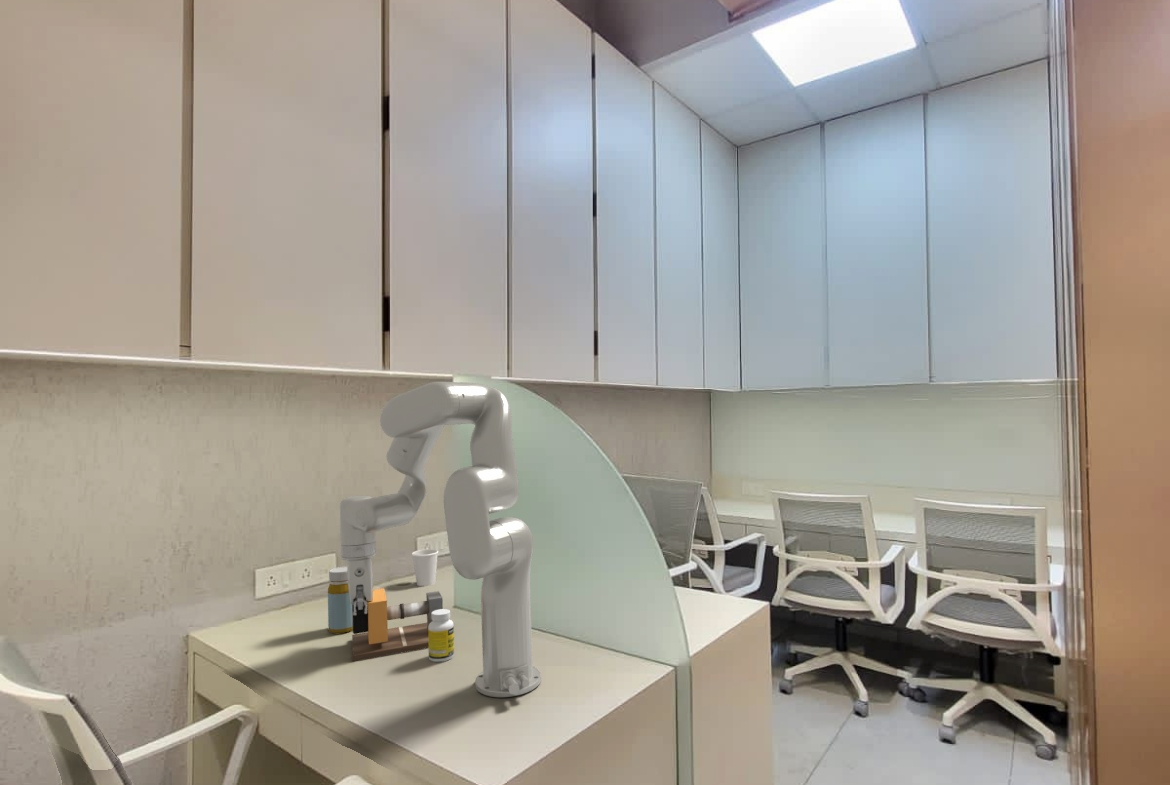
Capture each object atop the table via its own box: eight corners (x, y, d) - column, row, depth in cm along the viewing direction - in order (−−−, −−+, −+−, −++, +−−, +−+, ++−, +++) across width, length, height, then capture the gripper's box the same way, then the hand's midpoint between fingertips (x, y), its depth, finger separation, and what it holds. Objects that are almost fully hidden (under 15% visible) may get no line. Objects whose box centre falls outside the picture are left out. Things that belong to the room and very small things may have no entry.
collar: (387, 641, 131) (386, 600, 131) (368, 644, 130) (367, 603, 130) (385, 625, 141) (384, 588, 142) (367, 628, 140) (366, 590, 140)
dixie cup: (434, 578, 193) (433, 547, 193) (443, 583, 186) (442, 552, 186) (409, 583, 188) (408, 551, 189) (416, 589, 181) (415, 556, 182)
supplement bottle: (452, 661, 124) (451, 615, 125) (426, 663, 124) (425, 616, 125) (456, 651, 130) (454, 607, 130) (431, 653, 129) (430, 608, 130)
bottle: (347, 635, 143) (346, 573, 144) (322, 634, 145) (321, 572, 145) (364, 624, 150) (362, 565, 151) (339, 624, 151) (338, 565, 152)
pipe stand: (446, 644, 134) (444, 602, 135) (352, 661, 127) (351, 616, 127) (437, 625, 147) (436, 587, 148) (352, 639, 140) (351, 599, 140)
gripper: (377, 555, 128) (379, 635, 128) (374, 541, 144) (375, 612, 143) (340, 560, 125) (342, 641, 125) (341, 545, 141) (342, 617, 141)
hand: (360, 625), depth 134 cm, fingers open, 9 cm apart
